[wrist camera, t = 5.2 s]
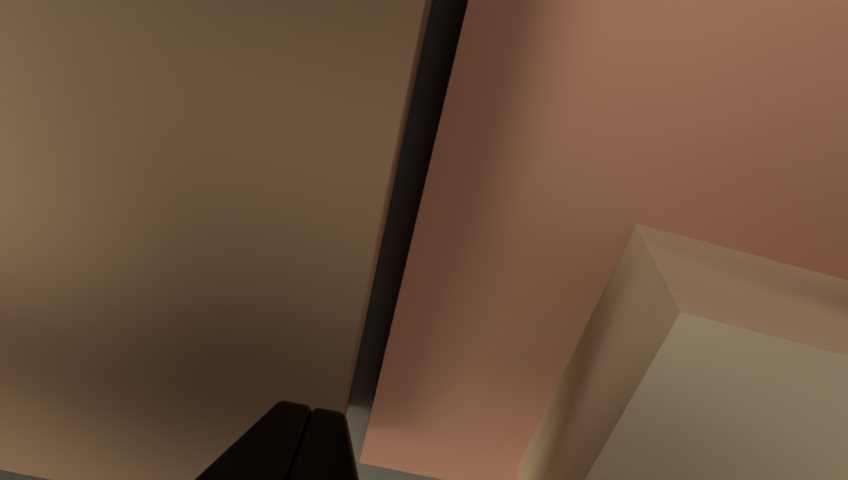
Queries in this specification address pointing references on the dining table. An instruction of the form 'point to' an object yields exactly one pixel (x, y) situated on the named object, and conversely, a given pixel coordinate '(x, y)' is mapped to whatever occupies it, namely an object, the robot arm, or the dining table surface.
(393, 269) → the dining table surface
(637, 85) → the terracotta mat
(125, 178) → the walnut board
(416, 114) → the dining table surface
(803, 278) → the maple tile
